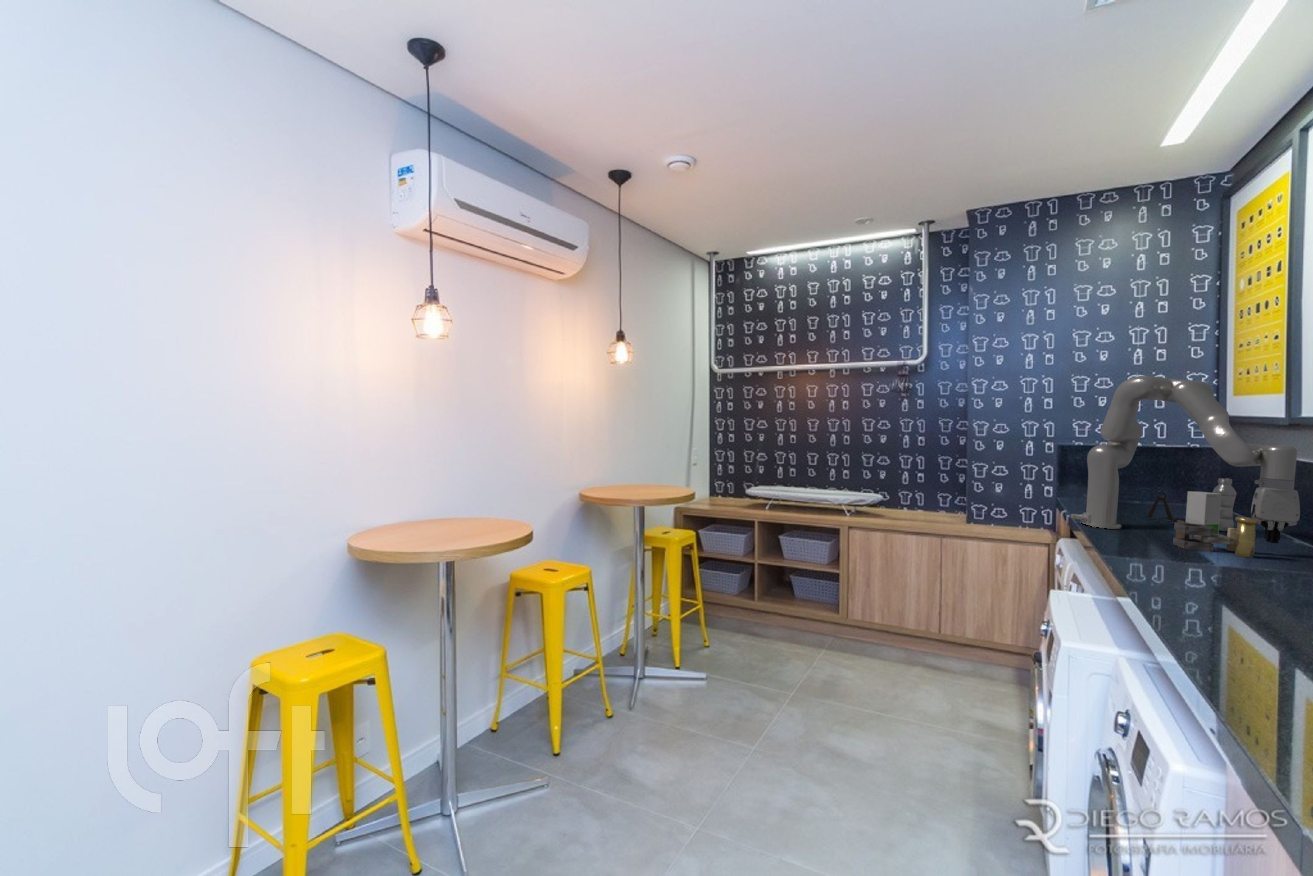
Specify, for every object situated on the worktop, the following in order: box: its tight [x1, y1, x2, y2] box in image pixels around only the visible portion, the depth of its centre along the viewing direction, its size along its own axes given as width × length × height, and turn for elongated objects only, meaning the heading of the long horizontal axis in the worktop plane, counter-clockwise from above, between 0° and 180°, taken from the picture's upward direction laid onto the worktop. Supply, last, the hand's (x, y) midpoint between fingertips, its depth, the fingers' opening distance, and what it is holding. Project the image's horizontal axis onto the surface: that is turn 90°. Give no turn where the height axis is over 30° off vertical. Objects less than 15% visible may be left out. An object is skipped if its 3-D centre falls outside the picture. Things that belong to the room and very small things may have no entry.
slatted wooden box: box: [1172, 519, 1215, 553], centre depth 197 cm, size 8×14×8 cm, turn 160°
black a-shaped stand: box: [1145, 490, 1175, 522], centre depth 248 cm, size 9×6×12 cm, turn 48°
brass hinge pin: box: [1234, 516, 1259, 558], centre depth 184 cm, size 5×5×12 cm
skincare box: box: [1185, 490, 1221, 534], centre depth 218 cm, size 8×7×16 cm
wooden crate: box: [1191, 527, 1257, 554], centre depth 192 cm, size 14×8×7 cm, turn 70°
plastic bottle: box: [1212, 477, 1237, 532], centre depth 225 cm, size 6×7×20 cm
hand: (1271, 542), depth 188 cm, fingers closed
